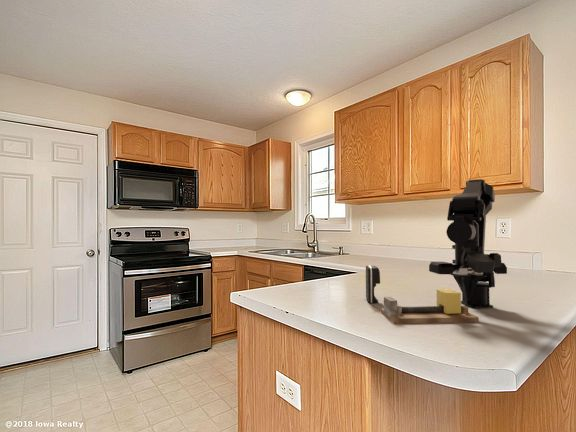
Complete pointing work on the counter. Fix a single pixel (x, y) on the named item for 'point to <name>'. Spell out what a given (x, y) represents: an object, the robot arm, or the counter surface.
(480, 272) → the robot arm
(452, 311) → the pale yellow cube
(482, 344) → the counter surface
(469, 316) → the sliding clamp fixture
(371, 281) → the black silver-edged device
